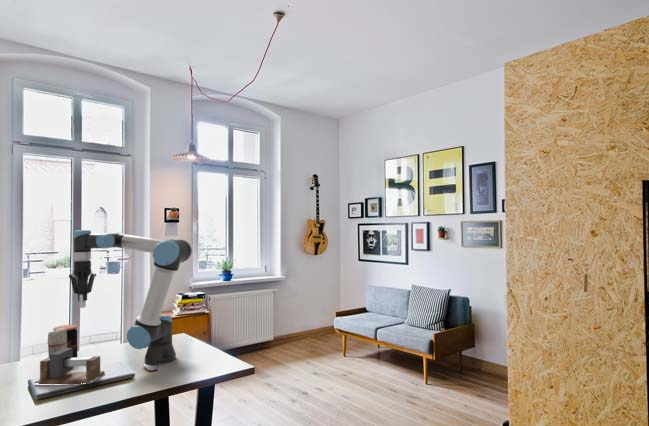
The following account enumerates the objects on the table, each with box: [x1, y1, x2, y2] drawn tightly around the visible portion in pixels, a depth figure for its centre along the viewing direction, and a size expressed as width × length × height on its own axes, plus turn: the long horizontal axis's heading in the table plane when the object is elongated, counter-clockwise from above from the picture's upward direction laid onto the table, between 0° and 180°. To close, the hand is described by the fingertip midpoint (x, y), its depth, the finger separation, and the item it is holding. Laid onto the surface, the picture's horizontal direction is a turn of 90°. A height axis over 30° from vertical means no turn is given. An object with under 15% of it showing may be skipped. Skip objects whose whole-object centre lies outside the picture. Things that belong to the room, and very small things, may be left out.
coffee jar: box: [53, 324, 78, 358], centre depth 217 cm, size 11×11×18 cm
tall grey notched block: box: [50, 348, 74, 377], centre depth 190 cm, size 4×10×10 cm, turn 179°
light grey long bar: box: [47, 356, 94, 367], centre depth 190 cm, size 21×4×4 cm, turn 89°
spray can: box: [47, 328, 67, 358], centre depth 204 cm, size 8×8×20 cm
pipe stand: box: [34, 355, 105, 385], centre depth 189 cm, size 24×13×10 cm, turn 89°
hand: (82, 307), depth 210 cm, fingers closed
